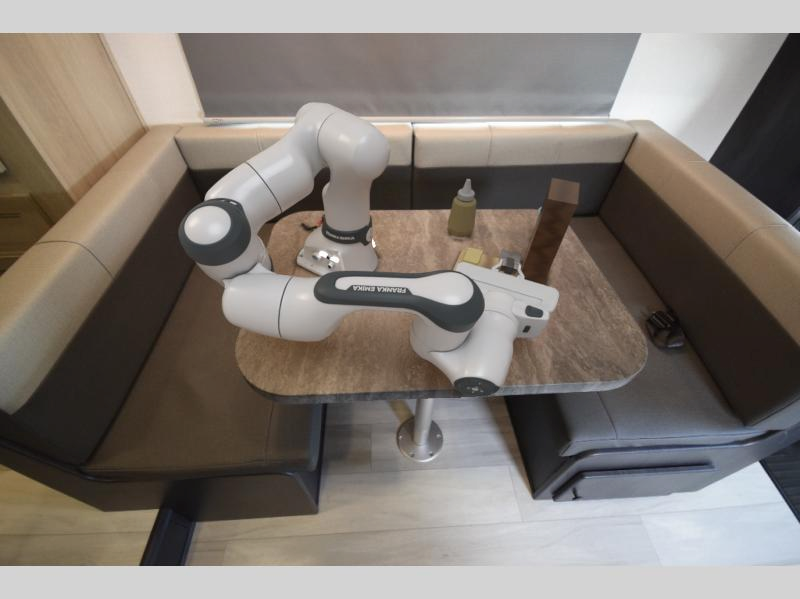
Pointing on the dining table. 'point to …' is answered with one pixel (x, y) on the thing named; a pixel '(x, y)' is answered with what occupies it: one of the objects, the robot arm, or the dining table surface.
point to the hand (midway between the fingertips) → (510, 263)
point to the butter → (473, 256)
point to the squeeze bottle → (463, 212)
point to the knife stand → (550, 229)
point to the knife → (510, 260)
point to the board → (481, 261)
